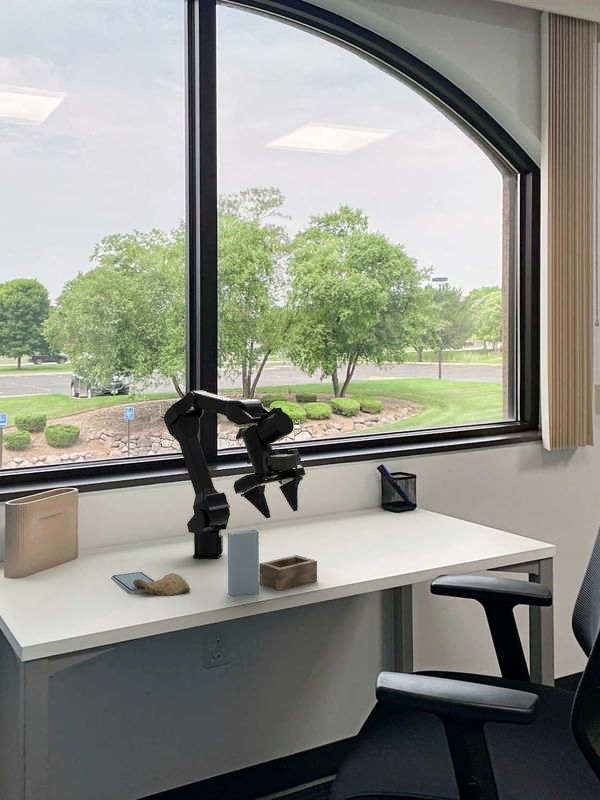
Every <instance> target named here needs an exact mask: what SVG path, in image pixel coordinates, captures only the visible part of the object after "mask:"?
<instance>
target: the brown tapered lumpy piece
mask: <svg viewBox="0 0 600 800" xmlns="http://www.w3.org/2000/svg"><path fill="white" fill-rule="evenodd" d="M133 584H134V586H135V587H137V588H145V589H146V591H147V592H146V593H149V594H150V595H151V594H152V595H157V596H166V597H170V596H176V595H181V594H182V593H185V592H190V591H191V587H190V585H189V584H188V581H186V580H185V579H184V577H183V576H181V575H180V574H177V573H173V572H172V573H168V574H165V575H164V576H163V577H162V578H161V579H158V580H154V582H150V583H147V582H145V581H143V580H142V579H136V580H134V581H133Z"/></svg>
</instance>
